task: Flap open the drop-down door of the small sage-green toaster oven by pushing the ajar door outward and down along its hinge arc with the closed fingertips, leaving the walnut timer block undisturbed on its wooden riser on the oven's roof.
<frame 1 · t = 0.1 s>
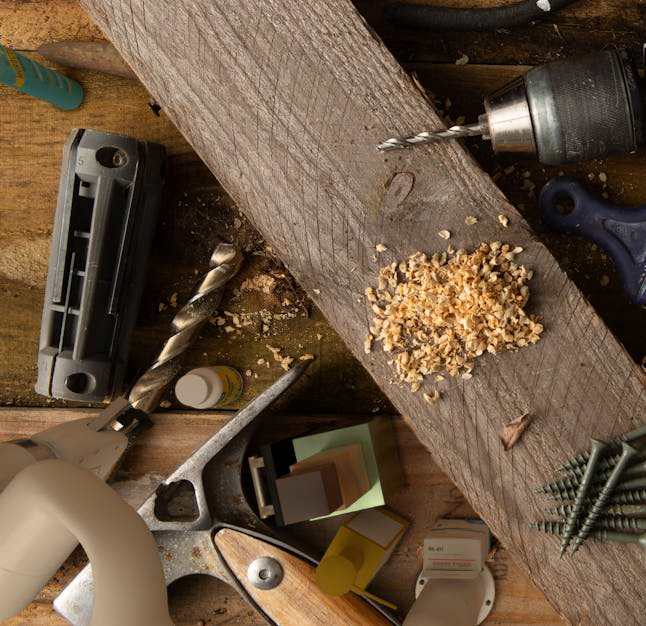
hand: (118, 450, 95), 31 cm above the workbench, tool pointing down, fingers open, 9 cm apart
pill bottle: (225, 384, 127), on the workbench
tube: (70, 94, 127), on the workbench
oven: (363, 456, 127), on the workbench
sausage: (81, 63, 121), point 5 cm above the workbench
timer block: (317, 487, 102), point 25 cm above the workbench, touching riser
ink box: (464, 533, 127), on the workbench
soap bottle: (394, 539, 127), on the workbench
riser: (345, 470, 114), resting on oven
oven door: (288, 477, 121), point 6 cm above the workbench, hinge at 14.3°
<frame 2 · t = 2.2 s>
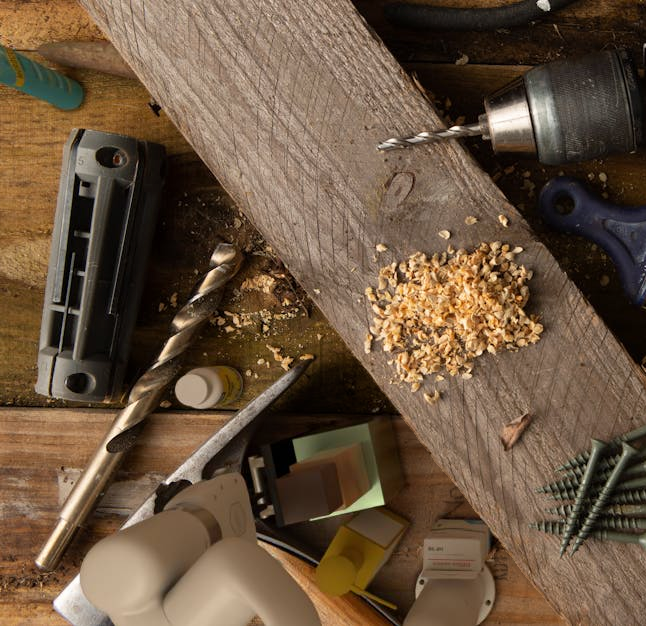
hand: (254, 502, 101), 25 cm above the workbench, tool pointing down, fingers closed
nothing on the workbench moved.
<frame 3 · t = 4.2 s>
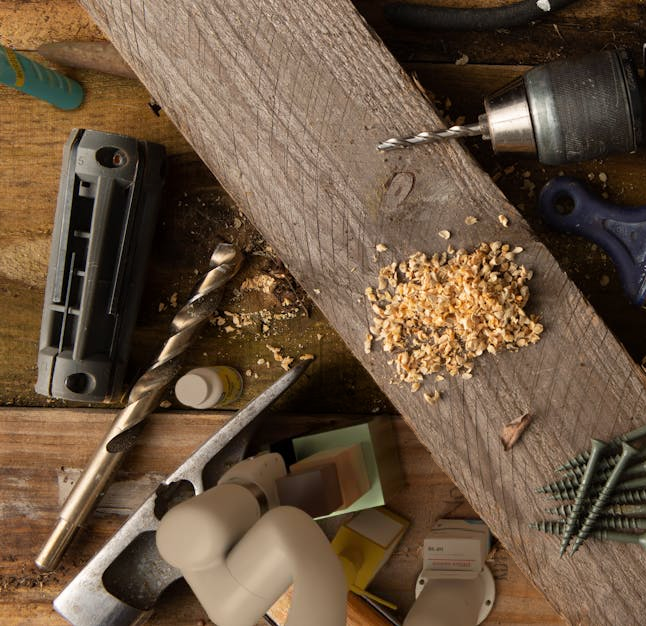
hand: (288, 479, 114), 12 cm above the workbench, tool pointing down, fingers closed
oven door: (288, 477, 121), point 6 cm above the workbench, hinge at 14.6°, touching gripper
everything else where it was.
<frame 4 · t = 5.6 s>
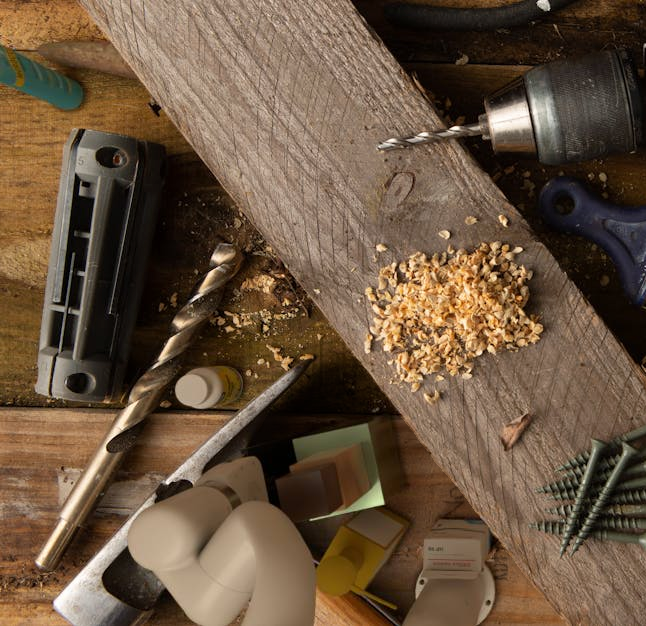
hand: (267, 483, 116), 11 cm above the workbench, tool pointing down, fingers closed
oven door: (281, 478, 122), point 4 cm above the workbench, hinge at 33.3°, touching gripper
everything else where it was.
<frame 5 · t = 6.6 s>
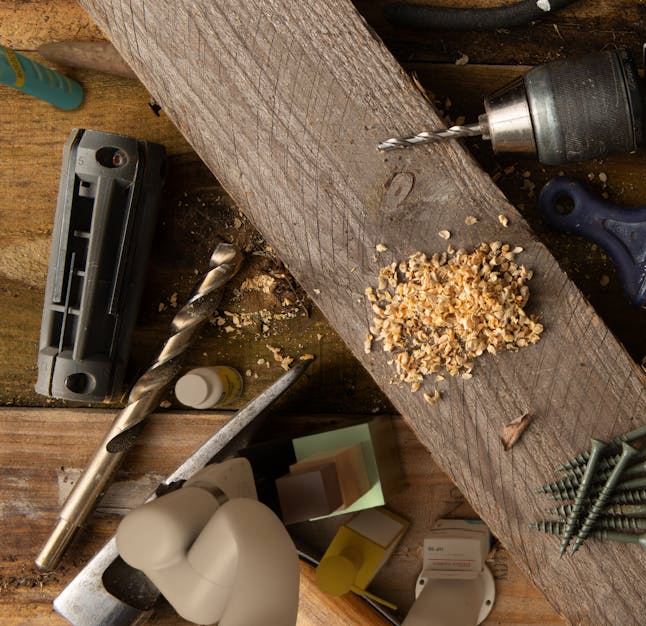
hand: (257, 484, 117), 9 cm above the workbench, tool pointing down, fingers closed
oven door: (279, 477, 123), point 3 cm above the workbench, hinge at 44.5°, touching gripper
everything else where it was.
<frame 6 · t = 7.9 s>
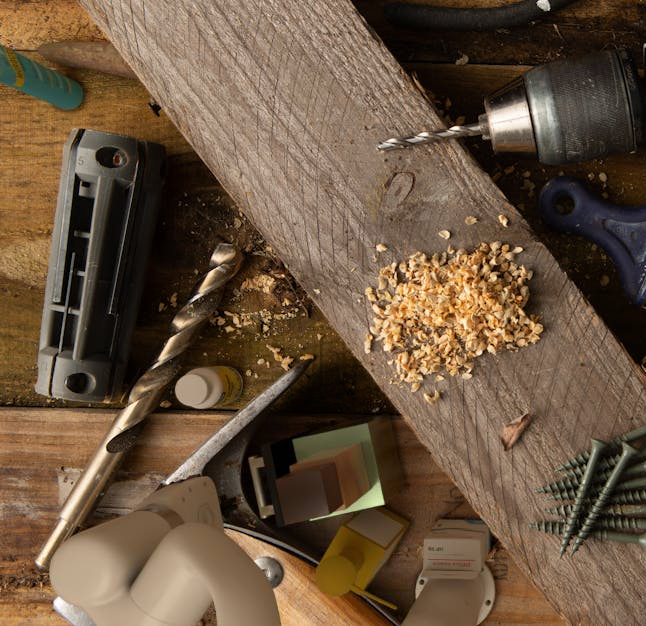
hand: (226, 504, 107), 19 cm above the workbench, tool pointing down, fingers closed
oven door: (288, 477, 121), point 6 cm above the workbench, hinge at 14.3°
everything else where it was.
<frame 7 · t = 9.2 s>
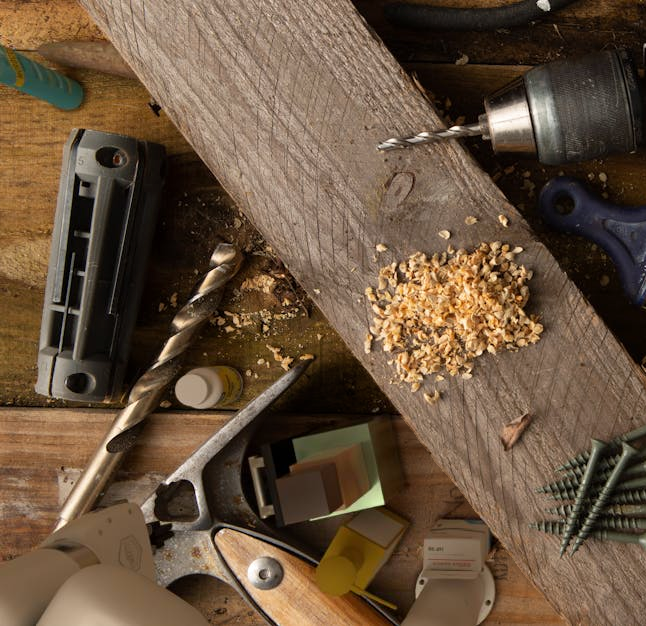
hand: (161, 531, 93), 33 cm above the workbench, tool pointing down, fingers closed
nothing on the workbench moved.
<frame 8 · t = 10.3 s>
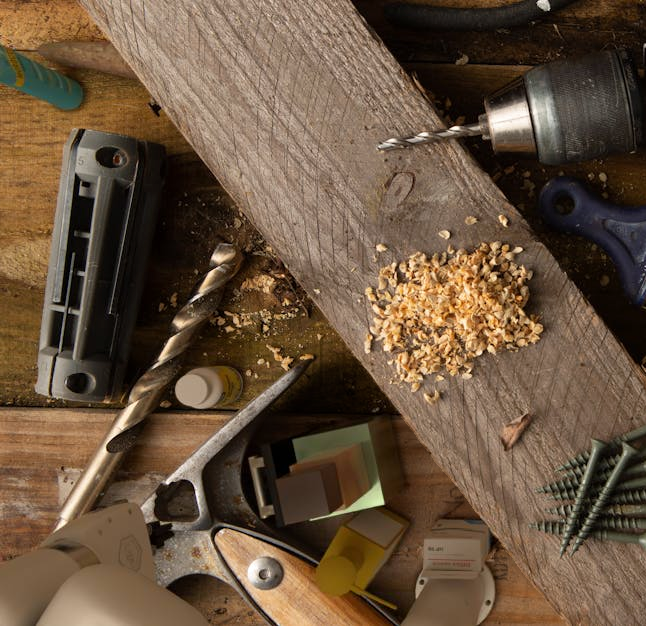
hand: (161, 531, 93), 33 cm above the workbench, tool pointing down, fingers closed
nothing on the workbench moved.
at the end: oven door reached +44° during the clip, +14° at the end; timer block inside the target area on the oven (0.0 cm from its centre), point 25.0 cm above the oven's base; timer block tilted 0° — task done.
